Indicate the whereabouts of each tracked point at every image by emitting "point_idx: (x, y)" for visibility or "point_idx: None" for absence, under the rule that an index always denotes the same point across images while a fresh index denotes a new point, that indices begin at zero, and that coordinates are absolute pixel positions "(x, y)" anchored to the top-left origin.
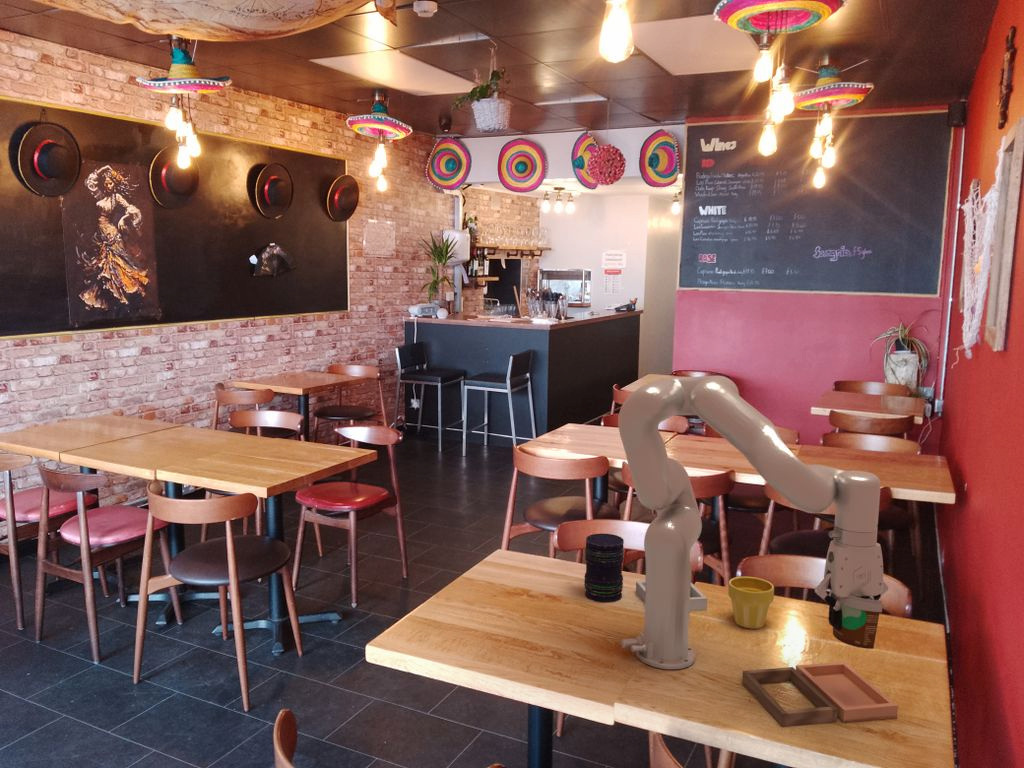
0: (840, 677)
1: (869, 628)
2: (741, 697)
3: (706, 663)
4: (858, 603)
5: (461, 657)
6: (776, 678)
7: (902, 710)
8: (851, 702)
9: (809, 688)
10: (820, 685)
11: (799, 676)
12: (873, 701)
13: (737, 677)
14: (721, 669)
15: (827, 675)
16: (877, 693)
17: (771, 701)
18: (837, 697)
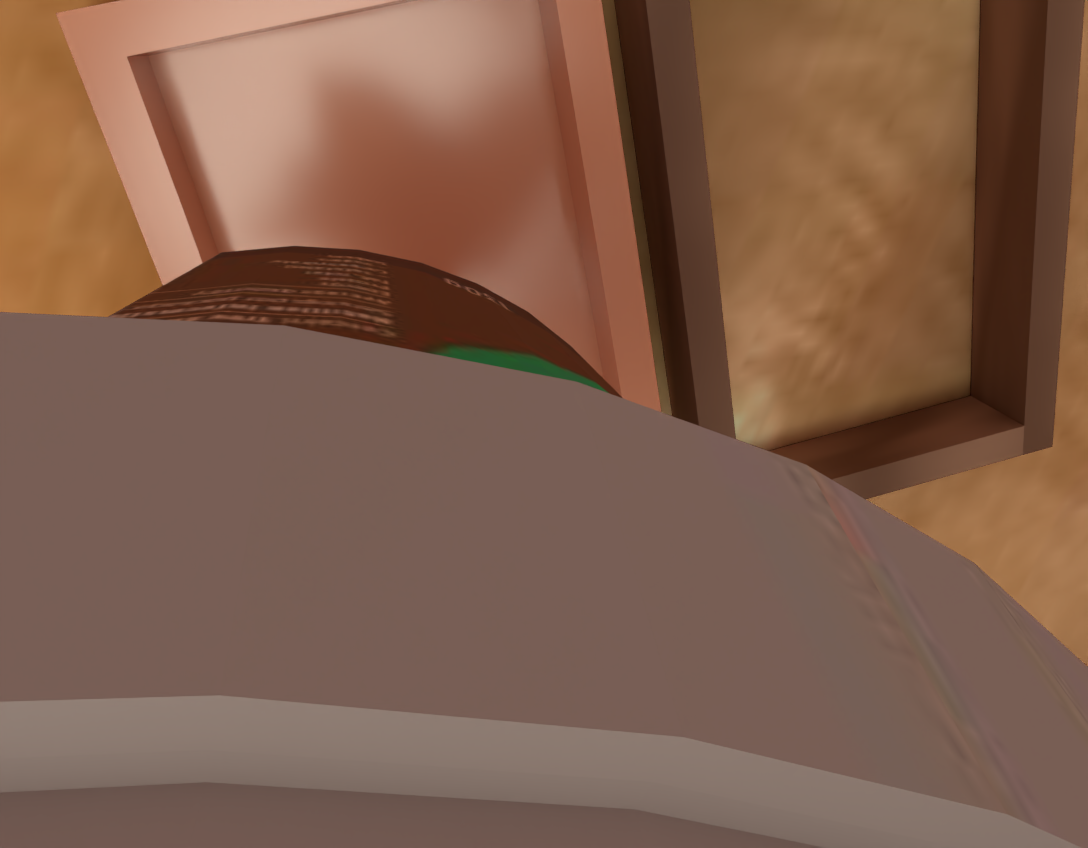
0: None
1: (303, 306)
2: (1082, 240)
3: (1081, 592)
4: (1037, 729)
5: None
6: (812, 454)
7: (9, 146)
8: (409, 203)
9: (715, 268)
10: (624, 309)
11: (722, 422)
12: (228, 230)
13: (993, 470)
14: (1036, 543)
15: None
16: (192, 231)
17: (1077, 37)
18: (490, 266)
